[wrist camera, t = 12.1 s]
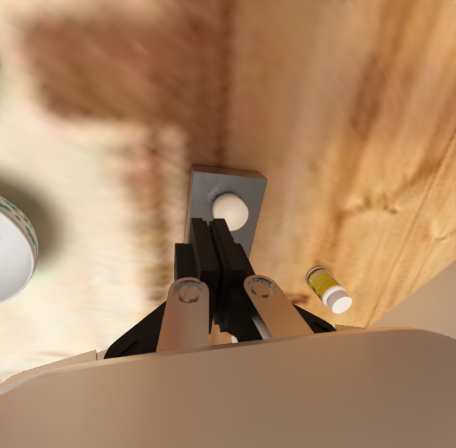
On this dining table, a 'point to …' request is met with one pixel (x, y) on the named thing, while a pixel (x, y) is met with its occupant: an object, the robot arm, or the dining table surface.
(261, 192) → the knob plate
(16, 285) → the chinaware
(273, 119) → the dining table surface
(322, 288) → the supplement bottle
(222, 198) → the knob
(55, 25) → the dining table surface
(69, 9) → the dining table surface
